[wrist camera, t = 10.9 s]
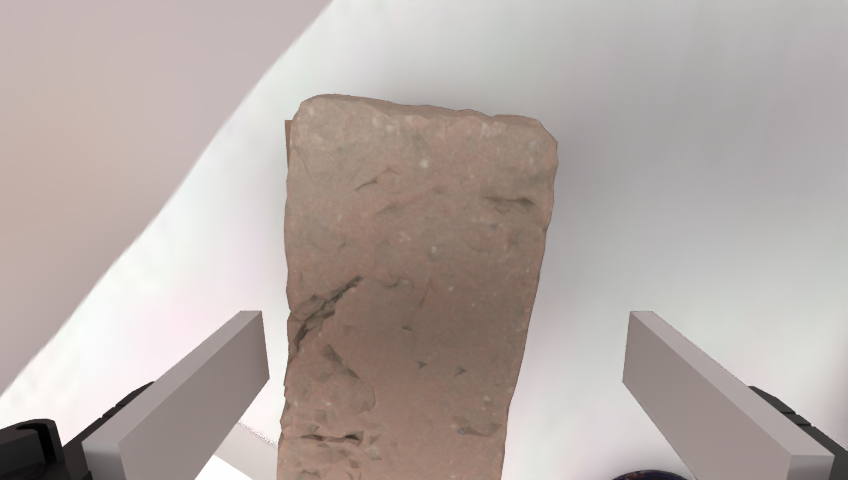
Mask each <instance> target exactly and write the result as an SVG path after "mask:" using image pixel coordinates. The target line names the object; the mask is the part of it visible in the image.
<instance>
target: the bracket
mask: <svg viewBox="0 0 848 480" xmlns="http://www.w3.org/2000/svg"><path fill="white" fill-rule="evenodd" d="M277 458H278V448H276V447H275V446H273V445H272V444H270V443H269V442H267V441H266V440H264V439H263V438H261V437H260V436H258V435H257V434H255V433H253V432H252V431H250V430H249V429H247V428H246V427H244V426H243V425H241V424H240V423H238V422H237V423H236V425H235V426H234V427H233V429H232V430H231V431H230V433H229V434H228V435H227V437H226V438H225V439H224V441H223V442H222V443H221V445H220V446H219V448H218V449H217V450H216V452H215V453H214V454H213V456H212V457H211V458H210V460H209V461H208V462H207V464H206V465H205V466H204V468H203V469H202V471H201V472H200V473H199V475H198V476H197V477H196V479H195V480H276V474H277Z"/></svg>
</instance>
